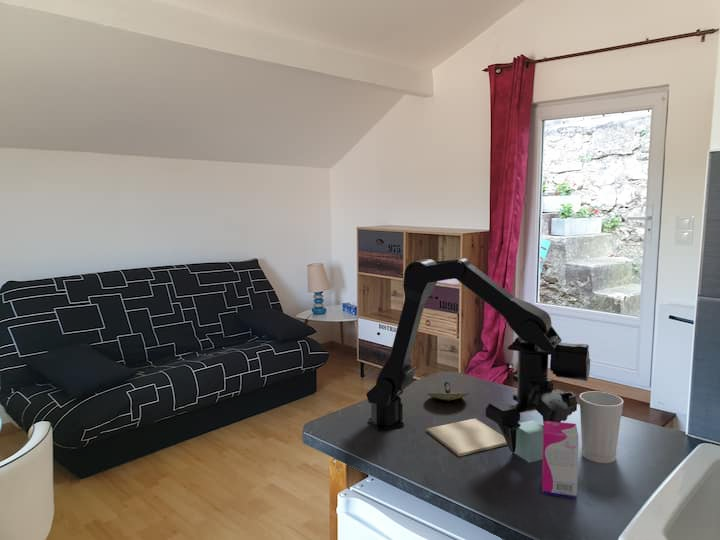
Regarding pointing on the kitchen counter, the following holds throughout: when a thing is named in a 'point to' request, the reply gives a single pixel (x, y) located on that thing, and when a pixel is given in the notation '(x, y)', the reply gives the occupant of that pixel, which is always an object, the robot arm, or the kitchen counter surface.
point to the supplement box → (560, 459)
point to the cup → (600, 425)
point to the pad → (467, 436)
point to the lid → (448, 395)
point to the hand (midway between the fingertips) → (530, 447)
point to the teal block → (529, 441)
